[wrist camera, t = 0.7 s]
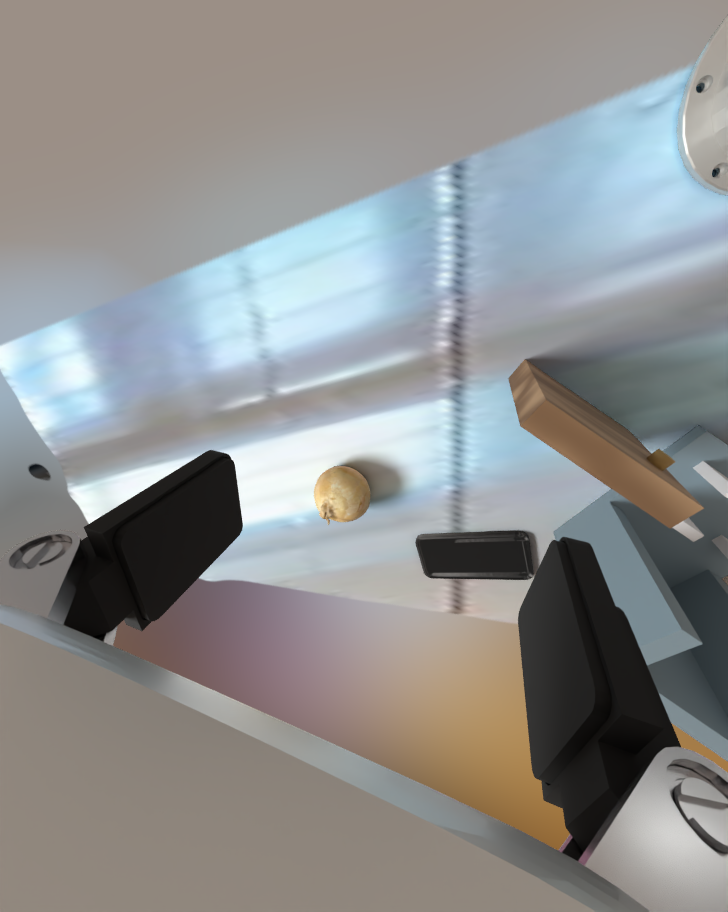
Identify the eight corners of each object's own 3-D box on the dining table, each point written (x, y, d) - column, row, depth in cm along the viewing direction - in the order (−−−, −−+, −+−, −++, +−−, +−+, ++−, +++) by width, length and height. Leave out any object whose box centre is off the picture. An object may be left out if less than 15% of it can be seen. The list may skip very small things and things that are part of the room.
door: (532, 350, 34) (557, 388, 22) (637, 423, 34) (719, 499, 22) (508, 378, 36) (520, 426, 24) (608, 447, 36) (670, 528, 24)
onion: (323, 454, 48) (300, 479, 42) (377, 464, 46) (361, 492, 40) (325, 500, 51) (304, 529, 45) (374, 511, 49) (359, 543, 43)
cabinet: (698, 425, 32) (877, 545, 18) (826, 512, 32) (1113, 706, 18) (553, 531, 42) (590, 667, 27) (651, 599, 42) (742, 771, 27)
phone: (534, 580, 45) (425, 578, 51) (533, 573, 46) (426, 572, 52) (528, 533, 42) (413, 537, 48) (527, 527, 43) (415, 532, 49)
